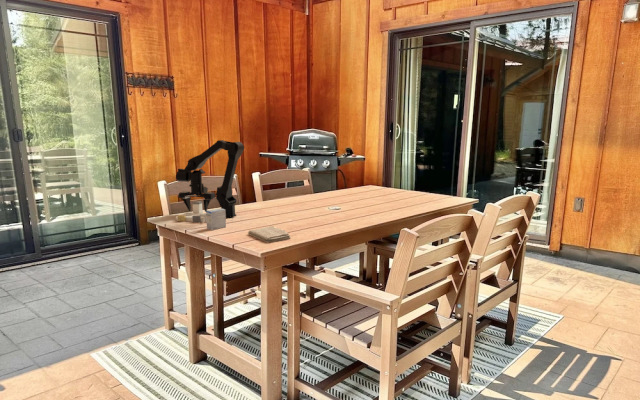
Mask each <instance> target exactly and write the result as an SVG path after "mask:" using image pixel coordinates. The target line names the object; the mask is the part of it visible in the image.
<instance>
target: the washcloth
mask: <svg viewBox="0 0 640 400" xmlns="http://www.w3.org/2000/svg"><path fill="white" fill-rule="evenodd" d="M247 234H248V235H250V236H251V237H254V238H256V239H258V240H260V241H262V242H265V243H268V244H269V243H275V242H281V241H287V240H290V239H291V235H289V234H290V233H289V232H286V230H285V229H281V228H279V227H275V226H271V225H270V226H265V227H262V228H256V229H249V231H248V233H247Z"/></svg>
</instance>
